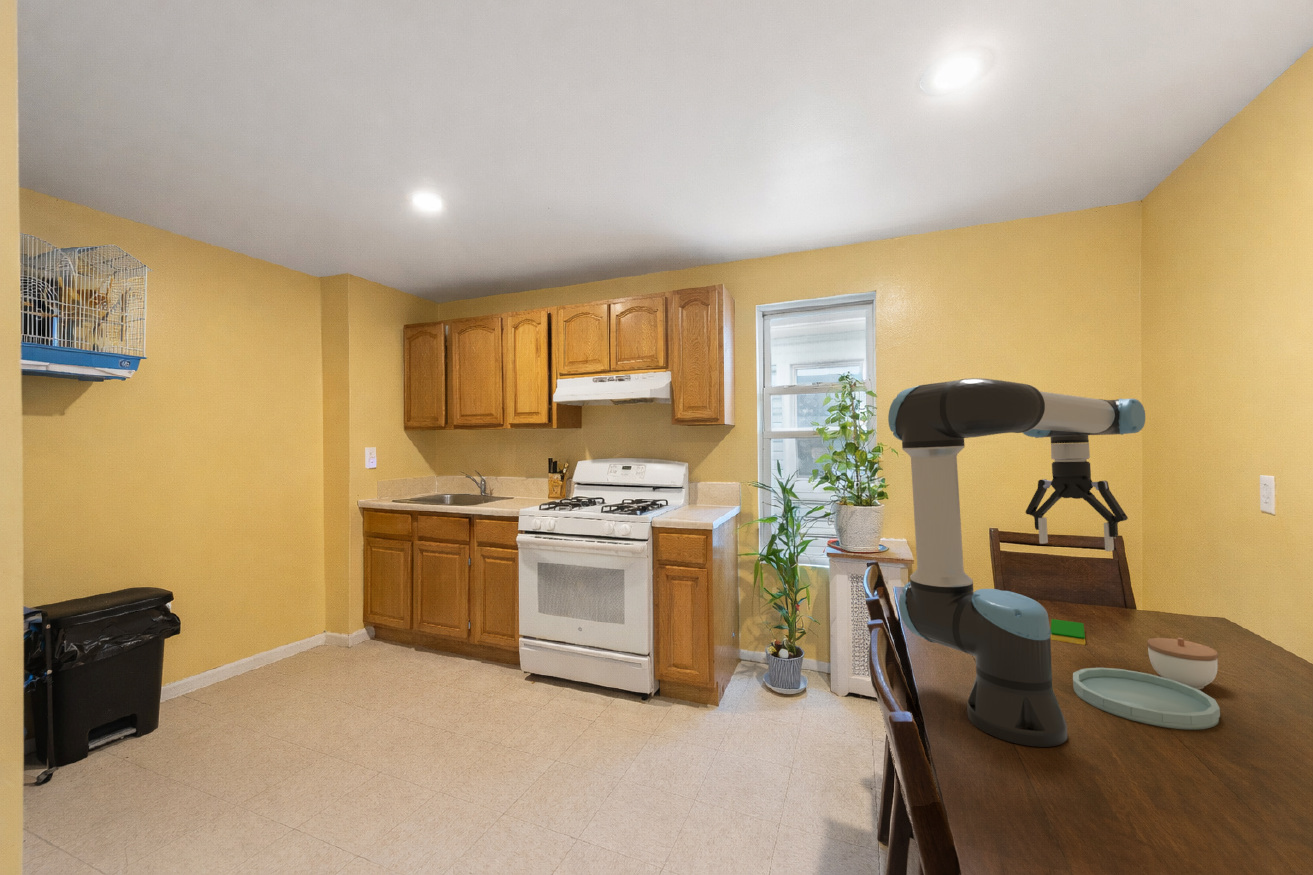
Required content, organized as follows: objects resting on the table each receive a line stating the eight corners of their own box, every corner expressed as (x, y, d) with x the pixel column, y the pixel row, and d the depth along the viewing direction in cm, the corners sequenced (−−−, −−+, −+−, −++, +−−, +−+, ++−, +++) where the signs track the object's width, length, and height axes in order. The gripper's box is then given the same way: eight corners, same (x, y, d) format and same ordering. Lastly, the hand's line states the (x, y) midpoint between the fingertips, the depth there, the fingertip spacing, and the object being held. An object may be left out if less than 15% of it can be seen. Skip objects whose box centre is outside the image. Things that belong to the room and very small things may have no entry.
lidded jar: (1188, 673, 116) (1185, 630, 117) (1236, 694, 106) (1233, 647, 106) (1135, 672, 118) (1133, 629, 118) (1178, 693, 107) (1175, 647, 107)
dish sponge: (1084, 631, 145) (1083, 622, 145) (1085, 646, 134) (1085, 637, 134) (1051, 627, 150) (1051, 618, 150) (1050, 641, 139) (1050, 632, 139)
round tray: (1194, 741, 90) (1193, 726, 90) (1053, 694, 108) (1053, 681, 108) (1236, 710, 100) (1235, 696, 100) (1100, 671, 118) (1100, 660, 118)
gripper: (1141, 459, 121) (1147, 552, 121) (1022, 460, 143) (1026, 538, 142) (1128, 460, 118) (1134, 556, 117) (1008, 461, 139) (1012, 541, 138)
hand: (1075, 546), depth 130 cm, fingers open, 13 cm apart
